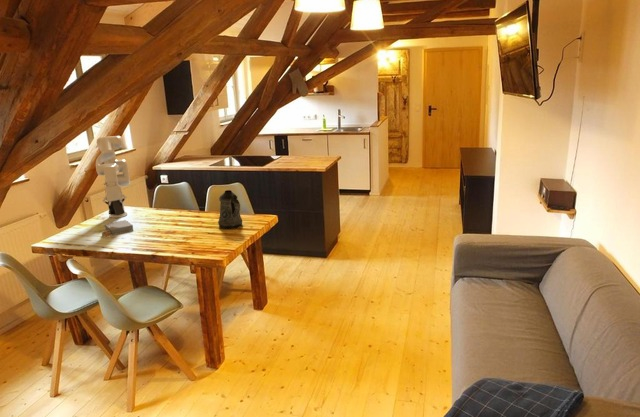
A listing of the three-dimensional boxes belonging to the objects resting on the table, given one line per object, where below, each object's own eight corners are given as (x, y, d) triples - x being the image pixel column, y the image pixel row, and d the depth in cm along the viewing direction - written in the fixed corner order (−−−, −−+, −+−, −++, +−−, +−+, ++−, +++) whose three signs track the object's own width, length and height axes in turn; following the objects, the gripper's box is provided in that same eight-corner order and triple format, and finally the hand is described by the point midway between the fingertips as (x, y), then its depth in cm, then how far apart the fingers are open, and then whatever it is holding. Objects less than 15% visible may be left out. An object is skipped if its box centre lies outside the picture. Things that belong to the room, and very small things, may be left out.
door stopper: (125, 213, 319) (122, 196, 316) (117, 215, 314) (115, 198, 311) (116, 212, 323) (113, 195, 320) (108, 214, 318) (105, 197, 315)
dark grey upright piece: (226, 221, 334) (223, 187, 327) (250, 223, 327) (248, 188, 321) (213, 228, 319) (210, 193, 312) (239, 230, 312) (236, 194, 306)
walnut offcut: (102, 236, 311) (101, 231, 310) (108, 234, 314) (107, 230, 313) (105, 237, 308) (104, 233, 307) (111, 236, 310) (110, 231, 310)
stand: (105, 229, 324) (104, 224, 323) (126, 225, 332) (125, 219, 331) (112, 235, 312) (111, 229, 311) (133, 230, 320) (132, 224, 319)
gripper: (99, 186, 305) (104, 213, 310) (127, 182, 315) (130, 208, 320) (97, 185, 311) (101, 211, 316) (123, 181, 321) (127, 206, 326)
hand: (116, 209), depth 318 cm, fingers closed on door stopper, 6 cm apart
